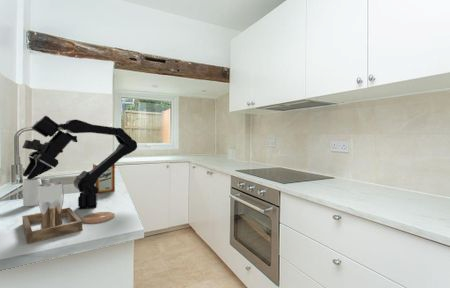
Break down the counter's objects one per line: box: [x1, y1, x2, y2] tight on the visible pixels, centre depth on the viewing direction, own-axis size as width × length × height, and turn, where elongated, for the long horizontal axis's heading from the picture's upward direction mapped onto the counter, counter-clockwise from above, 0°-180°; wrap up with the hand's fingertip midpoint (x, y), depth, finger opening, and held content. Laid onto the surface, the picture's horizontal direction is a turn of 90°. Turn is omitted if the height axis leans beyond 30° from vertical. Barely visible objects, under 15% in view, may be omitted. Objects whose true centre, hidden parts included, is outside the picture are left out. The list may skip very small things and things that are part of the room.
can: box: [22, 177, 43, 208], centre depth 102 cm, size 6×6×12 cm
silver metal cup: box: [38, 181, 65, 230], centre depth 78 cm, size 7×7×15 cm
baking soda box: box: [92, 163, 116, 195], centre depth 128 cm, size 10×6×16 cm
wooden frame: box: [22, 207, 83, 245], centre depth 78 cm, size 14×20×3 cm
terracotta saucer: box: [81, 211, 115, 225], centre depth 87 cm, size 11×11×1 cm
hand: (25, 177), depth 84 cm, fingers open, 9 cm apart
